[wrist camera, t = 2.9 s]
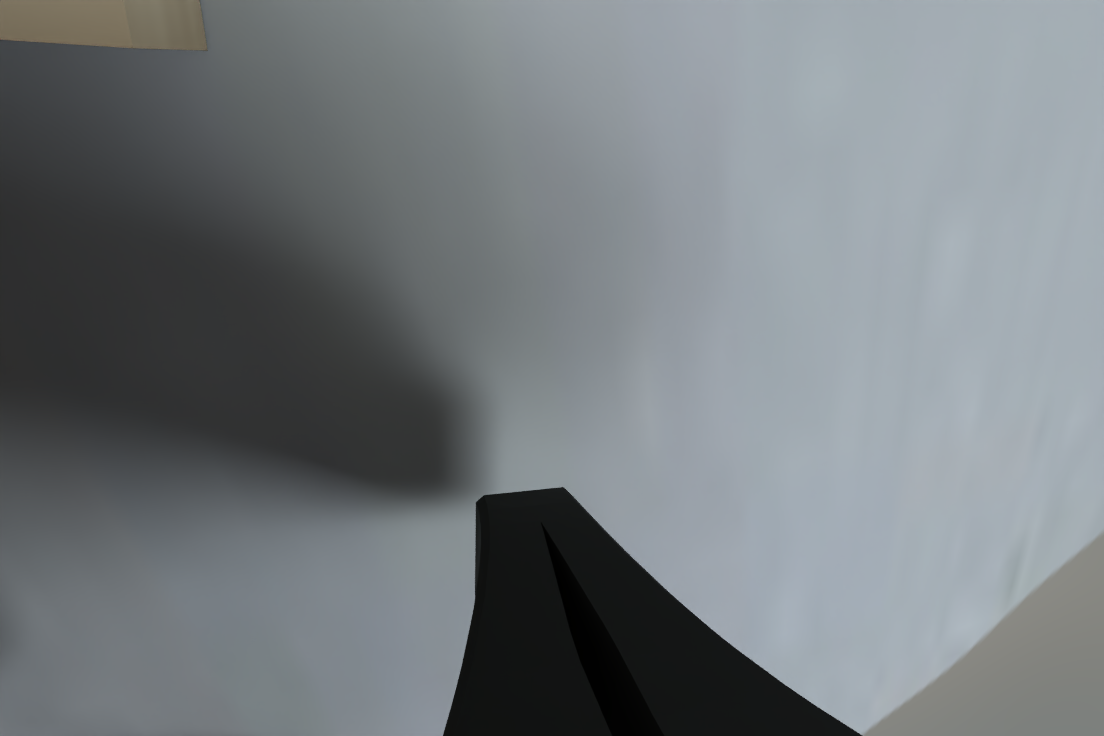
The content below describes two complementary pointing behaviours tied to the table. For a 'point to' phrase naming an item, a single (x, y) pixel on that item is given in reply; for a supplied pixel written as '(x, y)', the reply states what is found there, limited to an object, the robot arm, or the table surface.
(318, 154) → the table surface
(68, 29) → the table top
